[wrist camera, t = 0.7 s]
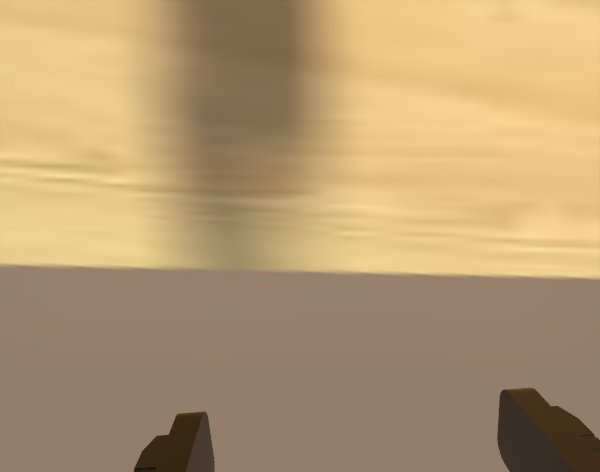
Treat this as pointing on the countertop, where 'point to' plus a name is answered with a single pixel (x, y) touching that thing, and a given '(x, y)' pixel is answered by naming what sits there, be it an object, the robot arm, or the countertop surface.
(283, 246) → the countertop surface
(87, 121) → the countertop surface
